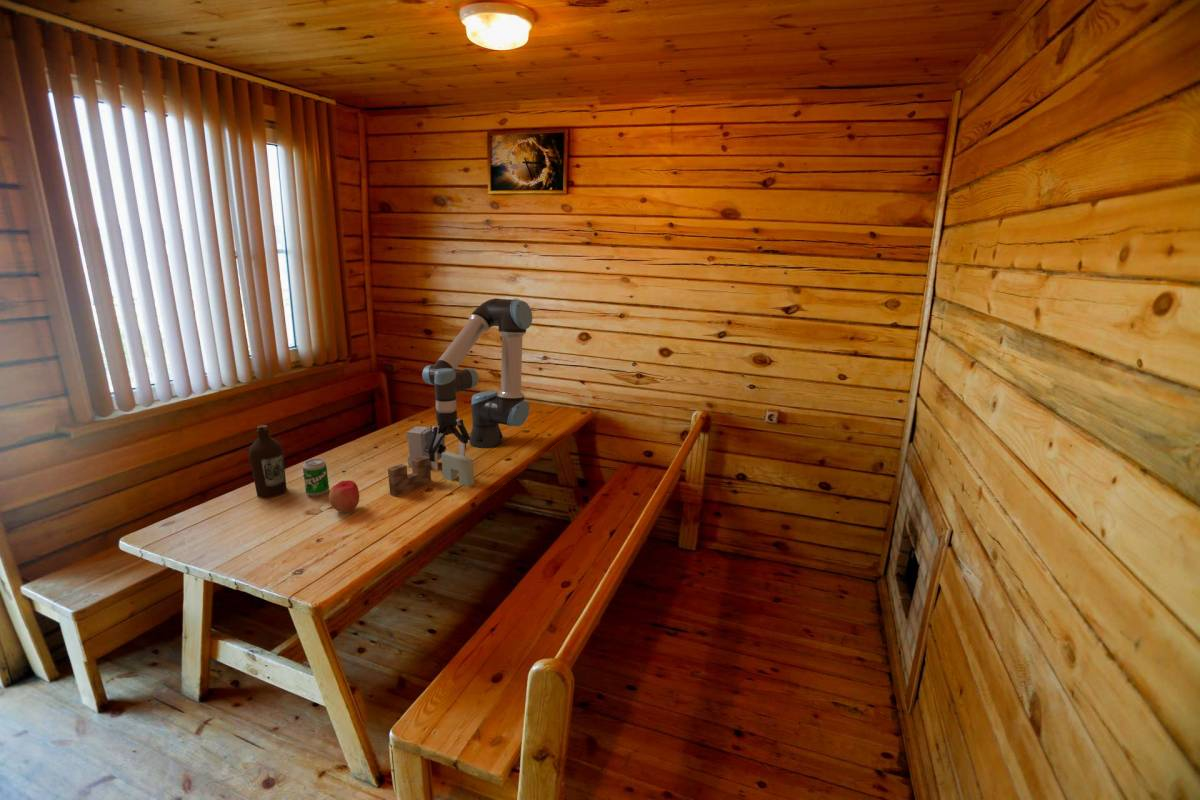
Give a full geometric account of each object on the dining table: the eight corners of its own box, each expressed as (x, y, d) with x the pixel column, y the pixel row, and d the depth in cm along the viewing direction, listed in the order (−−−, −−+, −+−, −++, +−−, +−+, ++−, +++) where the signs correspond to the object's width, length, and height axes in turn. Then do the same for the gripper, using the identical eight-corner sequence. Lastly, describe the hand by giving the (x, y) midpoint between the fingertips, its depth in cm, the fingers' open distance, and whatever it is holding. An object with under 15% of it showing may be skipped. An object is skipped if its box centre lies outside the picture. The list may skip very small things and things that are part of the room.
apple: (339, 504, 199) (336, 477, 196) (366, 504, 199) (363, 478, 196) (325, 516, 190) (322, 489, 187) (354, 517, 189) (351, 489, 187)
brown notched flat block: (426, 480, 220) (424, 455, 217) (431, 482, 218) (429, 457, 215) (390, 494, 207) (387, 468, 204) (395, 496, 205) (393, 470, 203)
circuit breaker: (441, 470, 229) (439, 435, 225) (408, 467, 231) (405, 432, 227) (449, 463, 236) (447, 429, 232) (417, 460, 239) (415, 426, 234)
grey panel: (442, 477, 222) (441, 453, 220) (448, 475, 225) (447, 451, 222) (468, 486, 215) (466, 461, 212) (474, 484, 217) (472, 459, 214)
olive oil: (249, 493, 206) (238, 427, 199) (279, 483, 214) (270, 419, 207) (263, 501, 200) (253, 433, 193) (294, 491, 208) (285, 425, 201)
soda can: (306, 490, 209) (302, 459, 206) (329, 487, 212) (326, 456, 209) (305, 498, 202) (301, 467, 199) (329, 495, 205) (325, 464, 202)
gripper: (464, 401, 227) (466, 452, 232) (412, 415, 207) (415, 470, 212) (478, 405, 223) (479, 456, 228) (425, 419, 203) (429, 475, 208)
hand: (448, 463), depth 220 cm, fingers open, 13 cm apart
